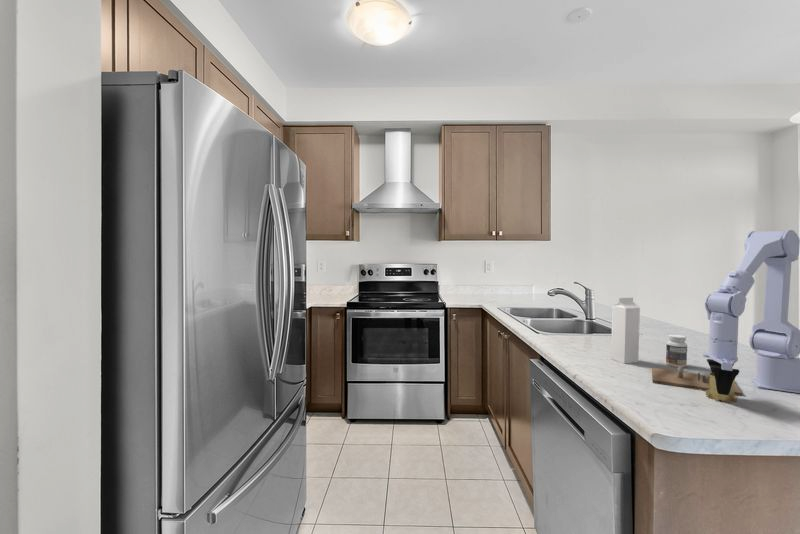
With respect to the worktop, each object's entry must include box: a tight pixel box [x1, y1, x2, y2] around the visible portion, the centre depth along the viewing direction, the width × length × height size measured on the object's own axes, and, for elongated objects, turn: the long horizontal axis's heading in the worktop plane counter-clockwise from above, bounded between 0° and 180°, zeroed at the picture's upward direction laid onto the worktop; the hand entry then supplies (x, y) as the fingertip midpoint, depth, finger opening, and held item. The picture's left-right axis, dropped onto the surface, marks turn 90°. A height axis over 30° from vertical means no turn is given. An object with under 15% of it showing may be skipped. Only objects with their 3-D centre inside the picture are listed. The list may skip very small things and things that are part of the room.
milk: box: [610, 296, 641, 364], centre depth 139 cm, size 6×6×22 cm
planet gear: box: [705, 372, 738, 404], centre depth 105 cm, size 6×6×6 cm
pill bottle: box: [665, 334, 688, 368], centre depth 134 cm, size 6×6×10 cm
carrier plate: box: [651, 367, 743, 397], centre depth 118 cm, size 20×14×4 cm
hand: (721, 390), depth 105 cm, fingers closed on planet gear, 5 cm apart
